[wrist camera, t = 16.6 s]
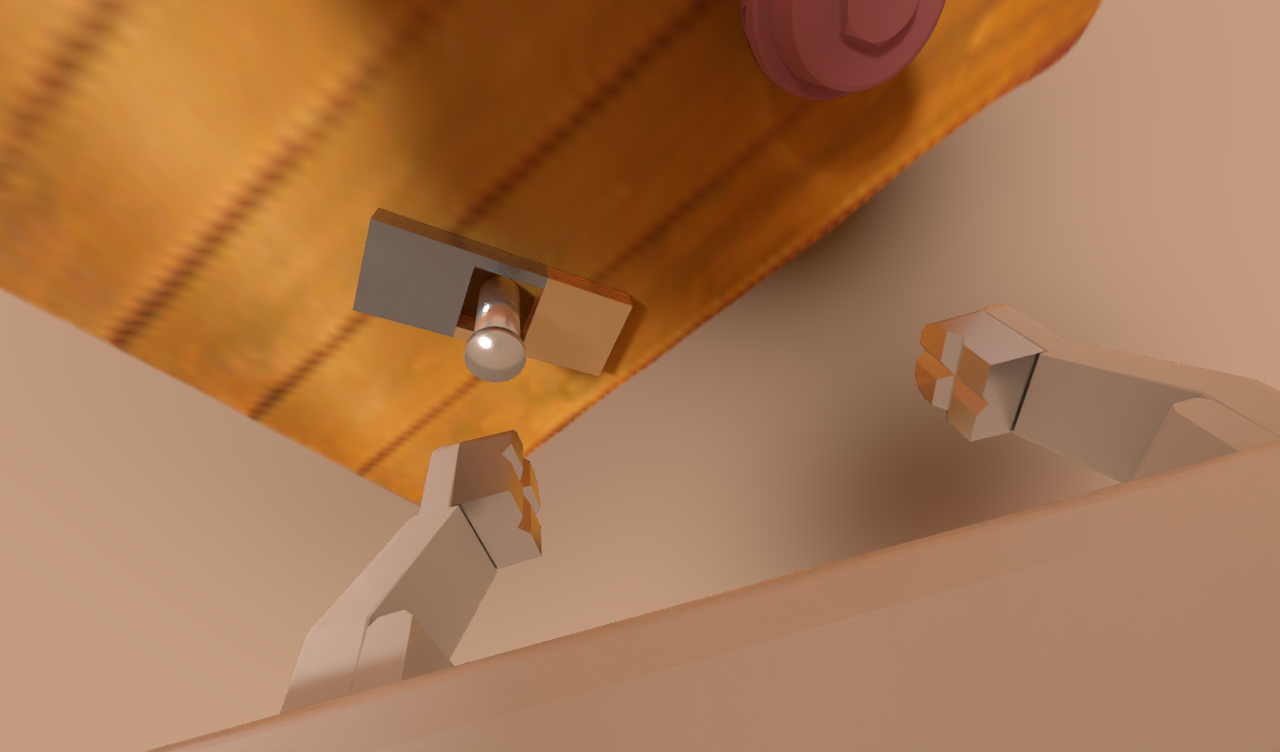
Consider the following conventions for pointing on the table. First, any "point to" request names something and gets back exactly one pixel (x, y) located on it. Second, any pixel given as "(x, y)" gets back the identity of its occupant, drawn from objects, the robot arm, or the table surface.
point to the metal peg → (496, 333)
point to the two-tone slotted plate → (439, 278)
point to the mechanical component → (836, 41)
